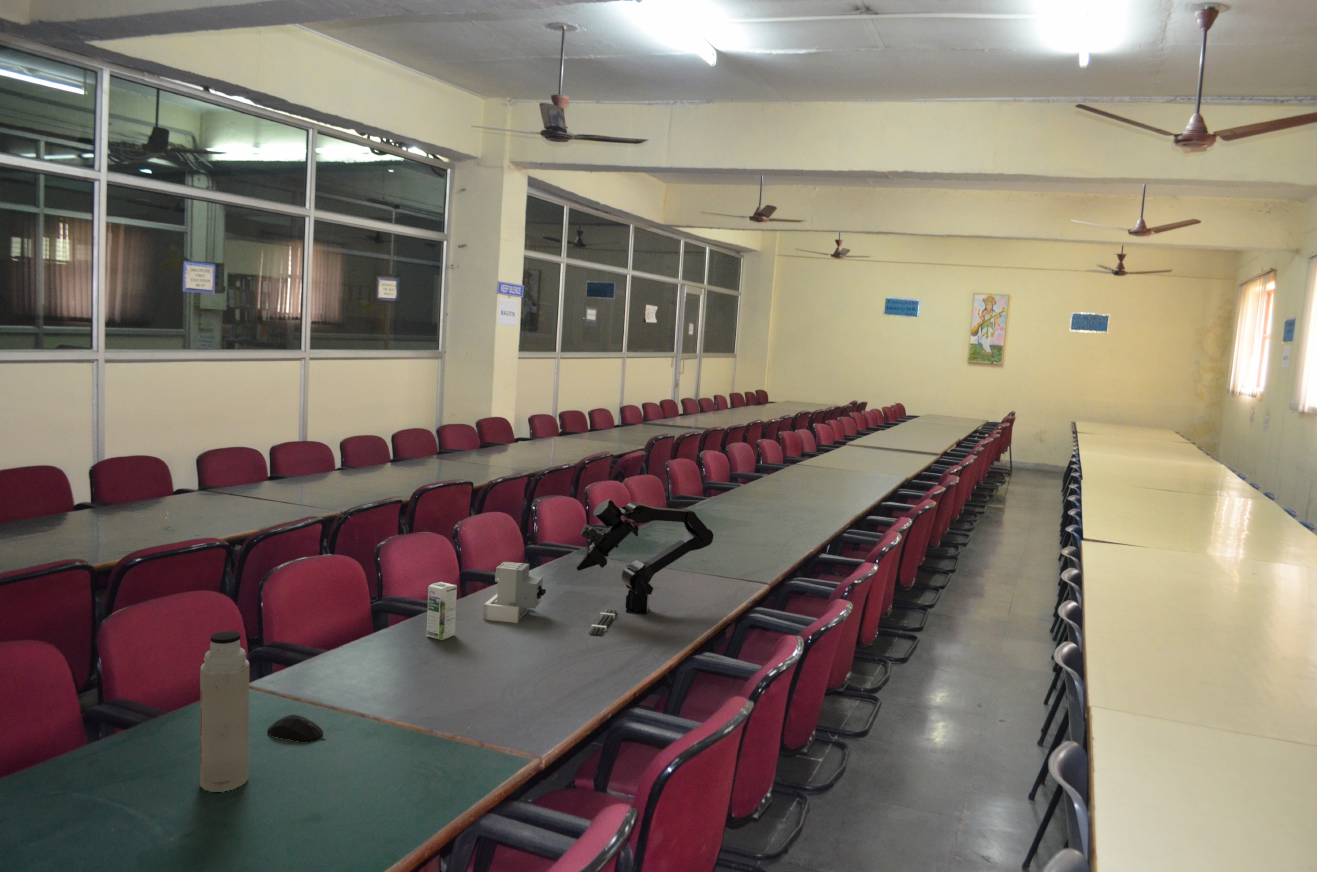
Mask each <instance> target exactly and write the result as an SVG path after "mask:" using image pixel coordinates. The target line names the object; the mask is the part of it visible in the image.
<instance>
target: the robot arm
mask: <svg viewBox="0 0 1317 872" xmlns="http://www.w3.org/2000/svg"><path fill="white" fill-rule="evenodd" d="M592 512H593V513H592V514H593V516H595V517H596V519H597V520H599V521H600V522H601V523H602V524H603V525H604V526H605V527H606V528H607V527H608V529H603V530H602V531H601V530H599V529H597V528H596V527H594V526H592V525H590V524H586V523H585V524H584V525H583V528H582V529H581V531H580V536H581V537H583V538H584V539H585V538H586V539H588V540H587V542H588V543H590V544H591V545H588V544H587V545H586V553H585V555H584V556H583V557H582V559H581V561H580V562H579V563H578V565H577V566H576V570H577V571H578V572H579V571H583V570H585V569H588V568H589V569H590V568H592V567H594V566H595V567H596V566H597V565H598V566H600V568H602V569H603V568H604V567H605V566H607V564H608V557H609V556H610V554H611V552H612V551H613V550H614V549H618V548H619V547H620V544H621V543H622V542H623V541H624V540H626V539H627V537H629V536H630V535H631V534H633V535H634V536H635V537H639V530H640V529H639V526H638V525H637V524H645V523H651V522H655V521H659V522H675V523H683V526H684V528H685V530H686V531H685V533H684V534H683V536H682V538H681V539H680V540H678V541H676V542H675V543H673V544H672V545H670V546H669V547H667V548H665V549H663V550H661V552H659V553H658V554H656V555H654V556H652V557H651V558H649V559H648V560H646V561H643V562H642V561H640V560H638V559H636V560H633V562H632V563H630V564H627V565H625V566H626V567H625V568H624V569H623V570H622V574H621V581H622V582H623V583H624V584H625V588H626V589H628V591H627V594H626V596H625V609H626V610H625V612H626V613H632V614H633V613H634V614H642V615H647V614H648V612H649V610H650V606H649V602H650V595H652V593H653V592H654V591H653V590H654V587H653V586H652V585H651V584H650V582H651V580H653V579H652V578H653V577H654V576H655V575H656V574H657V573H659V572H660V571H661V570H663V569H665V568H667V567H668V566H670V565H671V564H673V563H674V562H676V561H677V560H679V559H680V558H682V557H684V556H685V555H686V554H688V553H690V552H692V551H697V550H701V549H704V548H706V547H709V546H710V545H711V544H712V543H713V541H714V532H713V530H711V529H709V528H707V526H706V525H705V523H704V522H703V521H702V520H701V519H700V518H699V517H698V515H697V514H696V512H694V510H690V509H688V508H670V507H657V506H650V505H647V504H644V503H641V502H637V501H630V502H628V504H626V505H623V506H619V507H618V506H617V505H616V504H615V503H614V501H613V500H612V499H610V498H607V499H606V500H605V501H603V502H601V503H599V504H597V506H595V508H594V510H593V511H592ZM622 517H623V518H622ZM624 518H625V519H624ZM632 522H633V523H636V524H633V523H632Z"/></svg>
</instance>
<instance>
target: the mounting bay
mask: <svg viewBox="0 0 1317 872" xmlns="http://www.w3.org/2000/svg"><path fill="white" fill-rule="evenodd" d="M496 600H497V593H496V594H495V595H494V596H492V597H491V598H490V599H488V600H487V601H486V602H485V603H483V616H482V618H483V619H482V620H487V621H495V622H503V623H514V624H518V623H519V619H518V613H519V607H515V606H506V605H496V604H494V601H496ZM531 610H532V608H527V611H531Z"/></svg>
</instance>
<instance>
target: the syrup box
mask: <svg viewBox="0 0 1317 872" xmlns="http://www.w3.org/2000/svg"><path fill="white" fill-rule="evenodd" d="M457 587H458V586H457V584H451V583H448V582H444V581H440V582H435V583H431V584H430V585H428V587H427V614H426V615H427V616H426V633H425V634H426V637H427V638H432V639H437V640H440V641H444V640H446V639H448V638H450V637H453V636H455V635H456V616H457V594H458V593H457V592H458V588H457Z"/></svg>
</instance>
